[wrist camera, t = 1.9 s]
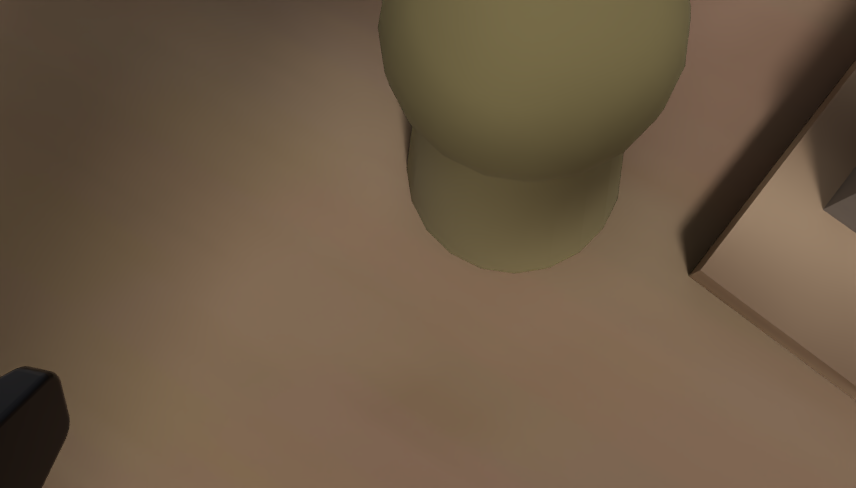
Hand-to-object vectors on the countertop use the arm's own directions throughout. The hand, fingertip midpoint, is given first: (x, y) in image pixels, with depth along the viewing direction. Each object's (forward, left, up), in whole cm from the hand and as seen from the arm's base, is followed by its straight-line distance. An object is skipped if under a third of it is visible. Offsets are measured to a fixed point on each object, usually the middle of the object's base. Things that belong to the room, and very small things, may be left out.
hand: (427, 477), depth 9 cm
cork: (+7, -1, -13) cm, 15 cm away
